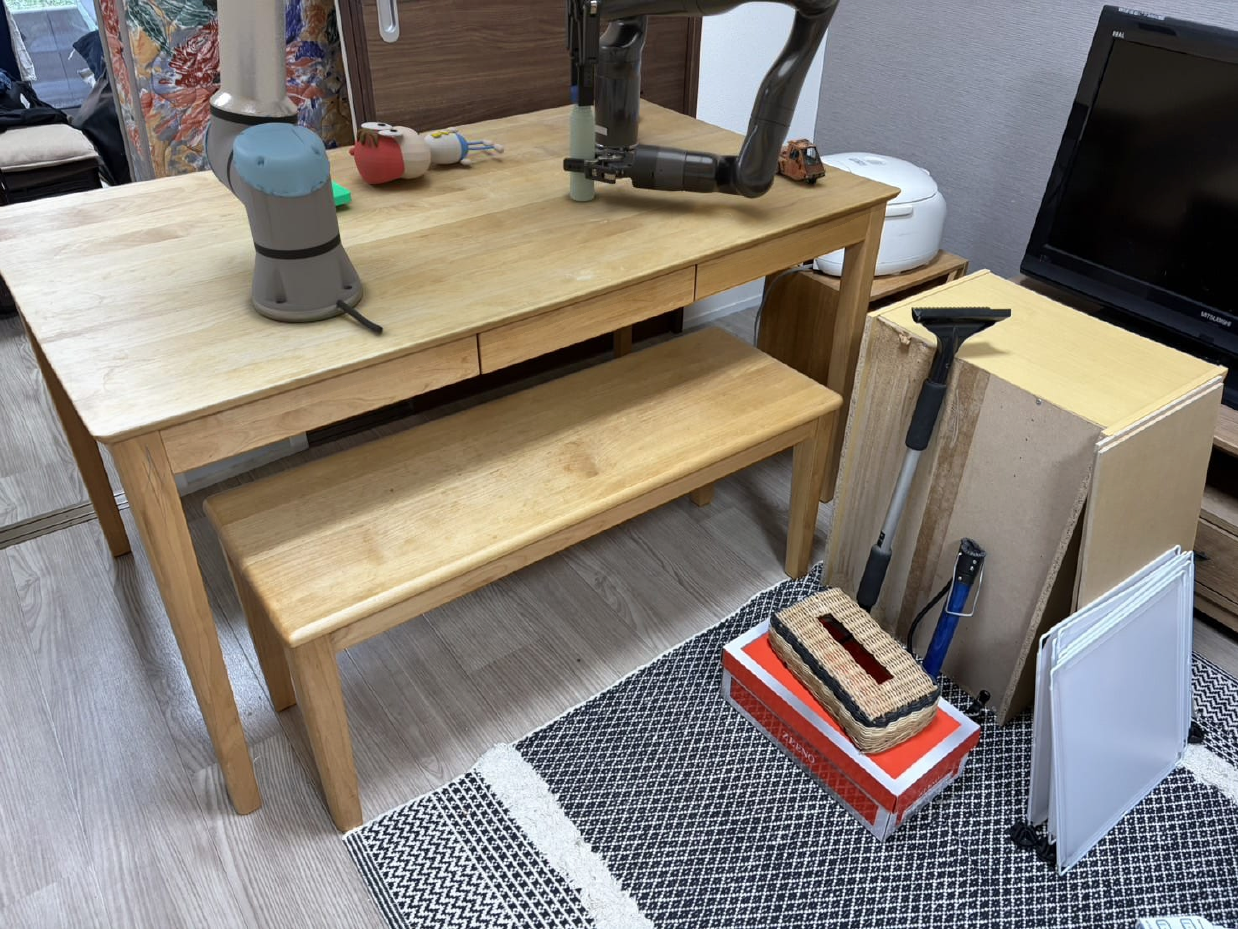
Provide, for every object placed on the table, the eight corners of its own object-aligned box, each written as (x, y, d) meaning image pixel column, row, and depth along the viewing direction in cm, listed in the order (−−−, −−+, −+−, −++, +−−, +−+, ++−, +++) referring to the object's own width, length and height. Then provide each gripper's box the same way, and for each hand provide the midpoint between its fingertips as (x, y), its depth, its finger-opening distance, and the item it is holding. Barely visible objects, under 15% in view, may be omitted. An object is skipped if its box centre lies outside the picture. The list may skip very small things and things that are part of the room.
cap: (592, 97, 161) (592, 84, 160) (595, 104, 158) (595, 90, 157) (569, 97, 161) (569, 84, 159) (572, 104, 158) (572, 91, 156)
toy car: (784, 164, 186) (788, 129, 182) (830, 182, 178) (836, 146, 174) (762, 170, 183) (766, 135, 178) (807, 189, 175) (813, 152, 171)
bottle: (598, 194, 171) (599, 89, 159) (588, 202, 167) (588, 95, 156) (576, 190, 172) (576, 85, 161) (566, 198, 169) (564, 91, 157)
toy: (520, 129, 175) (365, 133, 160) (519, 183, 180) (369, 192, 165) (478, 113, 188) (332, 115, 173) (478, 164, 193) (336, 170, 178)
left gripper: (546, -60, 151) (549, 89, 165) (573, -43, 138) (574, 117, 152) (590, -61, 153) (589, 87, 167) (621, -44, 140) (617, 114, 154)
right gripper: (668, 134, 167) (576, 126, 169) (655, 160, 156) (556, 151, 158) (666, 175, 171) (576, 167, 174) (652, 203, 160) (557, 193, 163)
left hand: (582, 101), depth 160 cm, fingers closed on cap, 4 cm apart
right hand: (567, 159), depth 166 cm, fingers closed on bottle, 4 cm apart
